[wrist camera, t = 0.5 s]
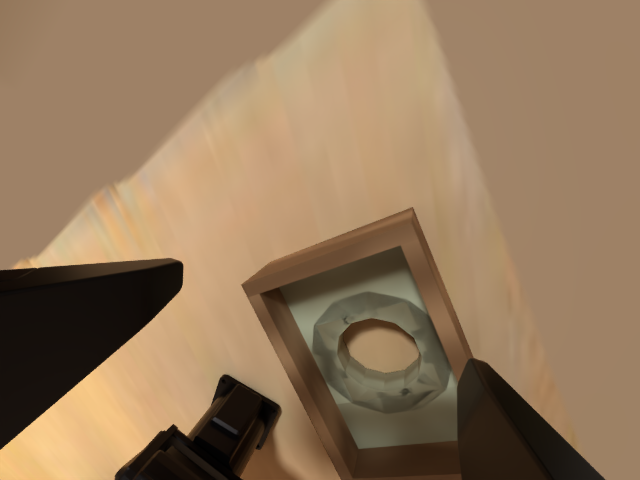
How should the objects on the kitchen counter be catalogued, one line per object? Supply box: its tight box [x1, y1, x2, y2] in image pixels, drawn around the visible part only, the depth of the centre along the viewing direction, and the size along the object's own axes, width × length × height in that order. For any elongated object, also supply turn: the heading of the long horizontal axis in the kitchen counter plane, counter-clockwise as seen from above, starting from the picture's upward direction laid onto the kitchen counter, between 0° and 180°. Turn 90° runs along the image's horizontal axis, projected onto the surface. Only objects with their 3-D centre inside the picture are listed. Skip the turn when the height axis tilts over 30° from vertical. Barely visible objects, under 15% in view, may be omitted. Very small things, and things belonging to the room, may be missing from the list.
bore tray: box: [242, 207, 474, 480], centre depth 22 cm, size 18×12×4 cm, turn 26°
